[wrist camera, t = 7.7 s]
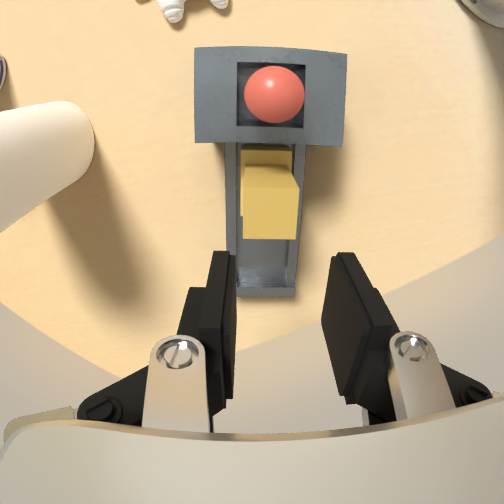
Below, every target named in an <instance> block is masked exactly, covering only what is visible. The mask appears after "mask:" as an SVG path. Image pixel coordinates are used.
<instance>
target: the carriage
mask: <svg viewBox="0 0 504 504" xmlns="http://www.w3.org/2000/svg"><path fill="white" fill-rule="evenodd" d="M291 166H292V151H291V149H290V148H289V147H286V146H248V145H242V147H241V212H240V216H243V239H296V228H297V215H298V202H299V187H298V185H297V183H296V181H295V179H294V177H293V175H292V173H291Z"/></svg>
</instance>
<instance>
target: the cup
mask: <svg viewBox="0 0 504 504" xmlns="http://www.w3.org/2000/svg"><path fill="white" fill-rule="evenodd" d="M94 146H95V140H94V132H93V128H92V125H91V123H90V121H89V119H88V117H87V116H86V114H85V113H84V112H83V111H82V110H81V109H80V108H79V107H78V106H76V105H74V104H72V103H70V102H65V101H57V102H50V103H44V104H38V105H32V106H27V107H21V108H16V109H11V110H7V111H2V112H0V233H1V232H3V231H4V230H5V229H7V228H8V227H9V226H11V225H12V224H13V223H15V222H16V221H17V220H19V219H20V218H21V217H23V216H24V215H26V214H27V213H28V212H30V211H31V210H33V209H34V208H36V207H37V206H38V205H40V204H41V203H43V202H44V201H46V200H47V199H49V198H50V197H52V196H53V195H55V194H56V193H58V192H59V191H61V190H63V189H64V188H66V187H67V186H69V185H70V184H72V183H74V182H75V181H77V180H78V179H79V178H81V177H82V176H83V175H84V173H85V172H86V171H87V169H88V167H89V165H90V163H91V161H92V158H93V154H94Z"/></svg>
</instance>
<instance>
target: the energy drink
mask: <svg viewBox="0 0 504 504" xmlns="http://www.w3.org/2000/svg"><path fill="white" fill-rule="evenodd" d="M5 77H6V63H5V60H4V58H3V56H2V55H1V54H0V90H1V88H2V86H3V83H4V81H5Z"/></svg>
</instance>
